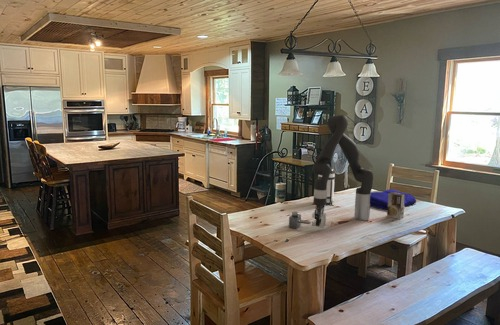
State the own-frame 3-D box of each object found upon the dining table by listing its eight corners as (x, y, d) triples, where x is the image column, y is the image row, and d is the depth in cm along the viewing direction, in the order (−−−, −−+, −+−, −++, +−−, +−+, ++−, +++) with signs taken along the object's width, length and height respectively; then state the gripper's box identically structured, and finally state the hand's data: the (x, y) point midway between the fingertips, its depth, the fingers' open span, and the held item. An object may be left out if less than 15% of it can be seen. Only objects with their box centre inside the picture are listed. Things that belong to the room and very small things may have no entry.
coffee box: (403, 217, 252) (405, 193, 250) (400, 219, 248) (401, 195, 245) (390, 214, 259) (392, 191, 256) (386, 216, 254) (388, 193, 251)
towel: (417, 204, 286) (418, 193, 285) (391, 212, 264) (392, 200, 263) (385, 197, 306) (386, 186, 305) (359, 204, 285) (360, 192, 283)
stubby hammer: (311, 227, 230) (312, 213, 229) (308, 231, 223) (308, 216, 222) (293, 224, 235) (293, 210, 234) (288, 228, 228) (289, 213, 226)
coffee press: (310, 201, 288) (311, 163, 283) (327, 199, 294) (329, 162, 290) (323, 207, 273) (324, 167, 268) (341, 205, 279) (343, 165, 274)
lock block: (325, 225, 225) (326, 213, 224) (323, 227, 220) (324, 215, 219) (313, 223, 228) (314, 211, 227) (311, 226, 223) (312, 213, 222)
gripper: (323, 200, 213) (322, 228, 216) (329, 194, 226) (327, 221, 229) (310, 198, 216) (309, 226, 219) (317, 193, 229) (315, 220, 232)
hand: (318, 224), depth 224 cm, fingers closed on lock block, 5 cm apart
